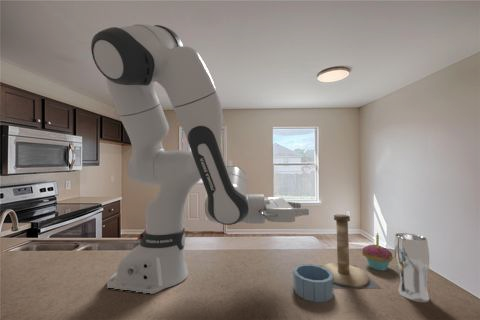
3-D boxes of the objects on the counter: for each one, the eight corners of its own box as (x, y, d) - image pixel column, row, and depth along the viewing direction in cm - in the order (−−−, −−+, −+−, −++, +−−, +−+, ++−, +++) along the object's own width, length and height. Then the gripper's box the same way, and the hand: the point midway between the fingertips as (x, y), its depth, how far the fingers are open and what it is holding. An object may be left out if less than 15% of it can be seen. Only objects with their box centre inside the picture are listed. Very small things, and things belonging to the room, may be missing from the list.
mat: (330, 289, 57) (330, 288, 57) (313, 266, 71) (313, 265, 71) (382, 289, 57) (382, 288, 57) (354, 266, 71) (354, 265, 71)
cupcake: (397, 275, 64) (395, 235, 65) (366, 271, 67) (364, 233, 68) (388, 263, 73) (386, 228, 73) (360, 260, 75) (358, 226, 76)
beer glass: (439, 306, 50) (435, 241, 51) (405, 302, 51) (402, 240, 52) (420, 290, 57) (417, 233, 57) (391, 287, 58) (388, 232, 59)
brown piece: (331, 287, 58) (329, 220, 59) (315, 266, 71) (313, 212, 72) (379, 287, 58) (376, 220, 58) (354, 266, 70) (352, 211, 71)
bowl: (299, 303, 51) (299, 282, 52) (290, 281, 61) (290, 264, 62) (340, 303, 51) (339, 282, 52) (324, 281, 61) (324, 264, 61)
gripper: (260, 204, 55) (314, 203, 54) (257, 194, 75) (296, 193, 74) (260, 228, 54) (314, 228, 54) (257, 212, 75) (296, 211, 74)
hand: (303, 208), depth 64 cm, fingers open, 8 cm apart
